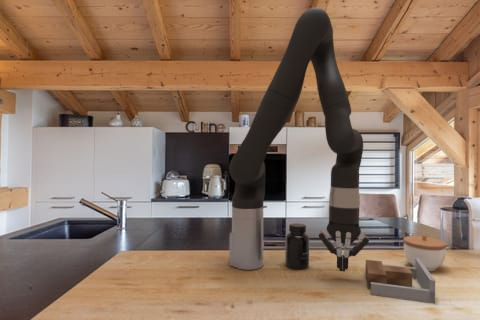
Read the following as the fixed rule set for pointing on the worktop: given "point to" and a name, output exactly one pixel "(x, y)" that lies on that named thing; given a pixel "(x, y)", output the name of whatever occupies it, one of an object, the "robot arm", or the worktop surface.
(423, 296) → the grey fence
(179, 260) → the worktop surface
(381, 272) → the t block
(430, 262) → the lidded jar
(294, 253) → the supplement bottle
